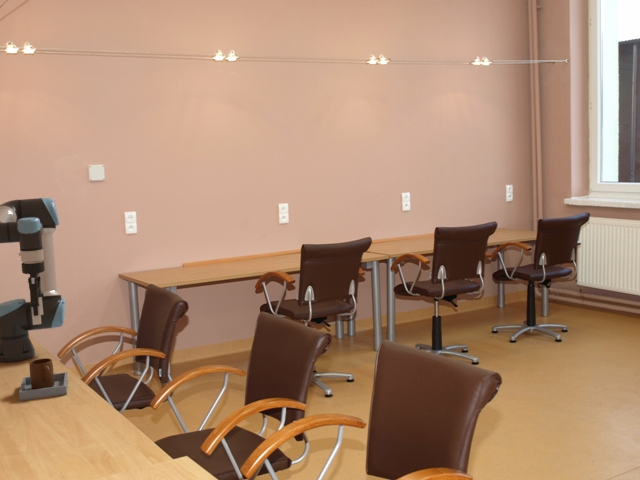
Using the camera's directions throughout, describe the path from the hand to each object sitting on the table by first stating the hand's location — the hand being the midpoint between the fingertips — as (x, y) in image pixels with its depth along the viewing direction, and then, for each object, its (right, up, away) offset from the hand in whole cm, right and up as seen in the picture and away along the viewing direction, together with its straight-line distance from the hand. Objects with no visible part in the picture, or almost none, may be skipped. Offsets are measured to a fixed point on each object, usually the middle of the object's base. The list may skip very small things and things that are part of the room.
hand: (38, 319), depth 258 cm
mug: (+6, -23, -9) cm, 26 cm away
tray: (+5, -24, -8) cm, 26 cm away
